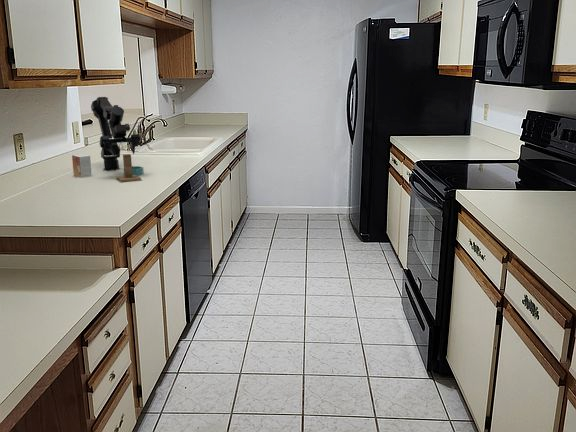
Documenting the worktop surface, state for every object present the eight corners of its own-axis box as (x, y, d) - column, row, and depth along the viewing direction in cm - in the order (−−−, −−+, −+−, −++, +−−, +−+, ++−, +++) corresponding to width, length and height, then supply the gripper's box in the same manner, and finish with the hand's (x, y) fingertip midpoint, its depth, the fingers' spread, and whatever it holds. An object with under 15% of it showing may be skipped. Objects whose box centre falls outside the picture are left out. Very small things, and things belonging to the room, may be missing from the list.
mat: (115, 179, 265) (114, 178, 265) (136, 177, 270) (136, 176, 270) (120, 183, 256) (120, 182, 256) (142, 181, 261) (142, 180, 261)
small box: (73, 176, 273) (71, 155, 270) (84, 174, 277) (82, 153, 274) (81, 178, 267) (79, 156, 265) (92, 176, 271) (90, 155, 269)
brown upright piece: (116, 178, 264) (114, 154, 261) (135, 177, 269) (133, 152, 266) (121, 182, 257) (119, 156, 254) (141, 180, 261) (139, 155, 258)
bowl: (121, 174, 276) (120, 167, 275) (136, 172, 283) (136, 165, 282) (131, 177, 270) (130, 170, 269) (146, 174, 277) (146, 167, 276)
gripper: (98, 119, 259) (106, 145, 253) (138, 117, 268) (146, 142, 262) (96, 134, 267) (103, 159, 261) (134, 132, 277) (142, 156, 270)
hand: (124, 154), depth 263 cm, fingers open, 9 cm apart
